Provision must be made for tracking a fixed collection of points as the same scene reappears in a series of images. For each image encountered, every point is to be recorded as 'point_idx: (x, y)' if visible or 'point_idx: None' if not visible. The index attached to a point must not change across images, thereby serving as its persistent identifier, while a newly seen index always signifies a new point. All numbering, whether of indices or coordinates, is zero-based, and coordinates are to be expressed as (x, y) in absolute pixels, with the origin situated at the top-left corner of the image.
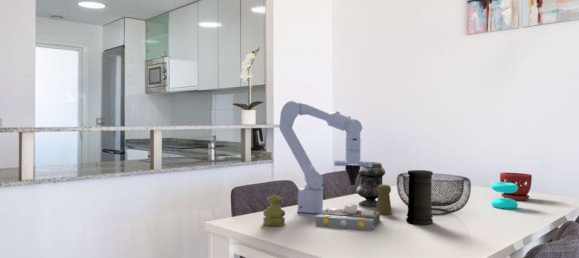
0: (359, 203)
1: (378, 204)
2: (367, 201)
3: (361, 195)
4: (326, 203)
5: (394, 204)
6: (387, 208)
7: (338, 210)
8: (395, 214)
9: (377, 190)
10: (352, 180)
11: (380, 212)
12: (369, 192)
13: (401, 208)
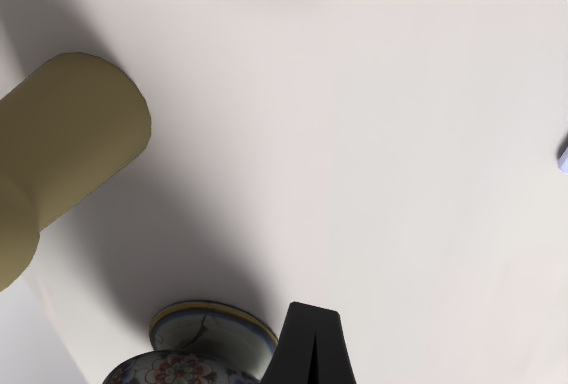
0: (276, 346)
1: (85, 116)
2: (225, 348)
3: (253, 376)
4: (483, 363)
5: (94, 344)
6: (23, 82)
7: None
8: (7, 87)
9: (17, 210)
10: (308, 358)
11: (96, 68)
12: (186, 374)
13: (33, 264)
